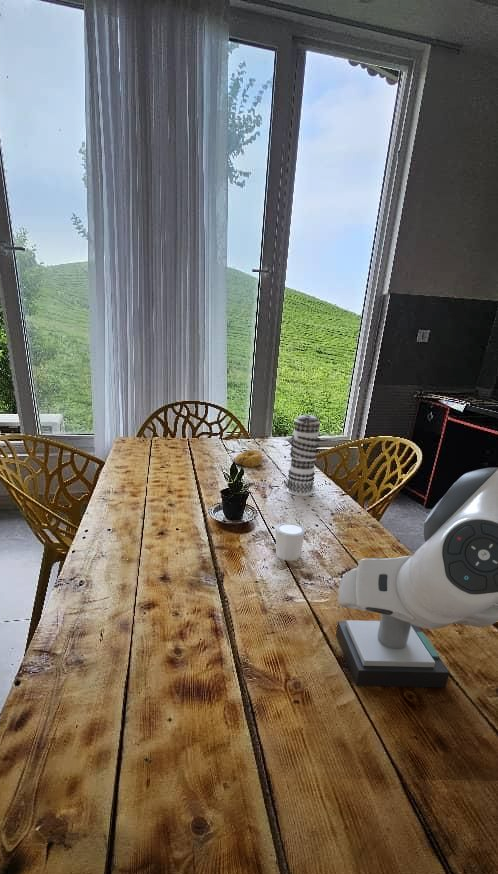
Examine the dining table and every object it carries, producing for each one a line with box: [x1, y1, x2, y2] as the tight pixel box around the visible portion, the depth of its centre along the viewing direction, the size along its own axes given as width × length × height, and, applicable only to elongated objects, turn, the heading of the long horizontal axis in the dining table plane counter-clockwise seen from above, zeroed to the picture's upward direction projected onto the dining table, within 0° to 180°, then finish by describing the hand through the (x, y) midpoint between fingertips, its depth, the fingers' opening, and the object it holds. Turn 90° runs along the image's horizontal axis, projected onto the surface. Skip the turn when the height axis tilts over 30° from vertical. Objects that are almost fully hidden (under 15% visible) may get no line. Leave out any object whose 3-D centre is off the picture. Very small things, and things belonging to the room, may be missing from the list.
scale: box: [335, 619, 451, 688], centre depth 73 cm, size 14×12×4 cm
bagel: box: [233, 449, 263, 468], centre depth 173 cm, size 10×11×5 cm
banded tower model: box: [286, 414, 322, 497], centre depth 143 cm, size 9×9×25 cm
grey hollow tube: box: [377, 614, 411, 649], centre depth 70 cm, size 4×4×10 cm
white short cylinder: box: [275, 522, 306, 562], centre depth 105 cm, size 7×7×7 cm
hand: (400, 610), depth 68 cm, fingers open, 8 cm apart
